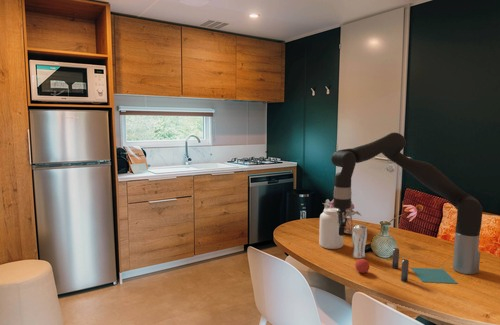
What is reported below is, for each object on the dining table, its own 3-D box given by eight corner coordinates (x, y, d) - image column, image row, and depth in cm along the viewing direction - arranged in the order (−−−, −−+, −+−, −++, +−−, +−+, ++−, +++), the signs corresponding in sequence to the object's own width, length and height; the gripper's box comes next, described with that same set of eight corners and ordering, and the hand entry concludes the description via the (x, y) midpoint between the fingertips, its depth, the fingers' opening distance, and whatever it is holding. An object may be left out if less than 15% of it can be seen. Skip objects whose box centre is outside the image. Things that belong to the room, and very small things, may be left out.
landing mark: (443, 269, 160) (443, 268, 160) (457, 283, 146) (457, 283, 146) (410, 268, 162) (410, 267, 162) (422, 282, 148) (422, 281, 148)
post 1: (397, 266, 163) (398, 247, 162) (399, 269, 161) (400, 250, 159) (391, 266, 163) (392, 247, 162) (393, 268, 161) (394, 249, 160)
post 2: (406, 279, 150) (407, 259, 149) (408, 282, 148) (409, 261, 147) (400, 279, 150) (401, 258, 149) (402, 282, 148) (403, 261, 147)
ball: (367, 269, 160) (368, 257, 159) (370, 275, 154) (371, 262, 153) (354, 269, 161) (354, 256, 160) (356, 274, 155) (356, 261, 154)
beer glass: (356, 259, 172) (357, 229, 170) (348, 254, 178) (349, 225, 176) (368, 258, 173) (370, 228, 172) (360, 252, 180) (361, 224, 178)
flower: (372, 227, 216) (356, 189, 221) (362, 234, 197) (345, 192, 202) (342, 236, 226) (327, 199, 231) (330, 243, 207) (315, 203, 212)
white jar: (340, 241, 197) (341, 206, 194) (344, 249, 184) (345, 212, 182) (318, 241, 198) (318, 206, 195) (320, 249, 185) (321, 211, 183)
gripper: (353, 200, 147) (352, 240, 149) (348, 193, 160) (347, 230, 162) (335, 199, 148) (334, 239, 150) (331, 193, 161) (330, 230, 163)
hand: (341, 235), depth 156 cm, fingers closed
